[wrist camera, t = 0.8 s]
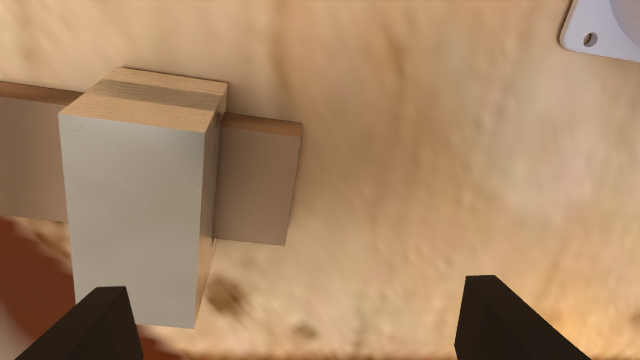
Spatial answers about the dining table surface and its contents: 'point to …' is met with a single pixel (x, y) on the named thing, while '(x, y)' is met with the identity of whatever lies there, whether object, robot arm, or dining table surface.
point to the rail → (232, 170)
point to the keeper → (144, 189)
